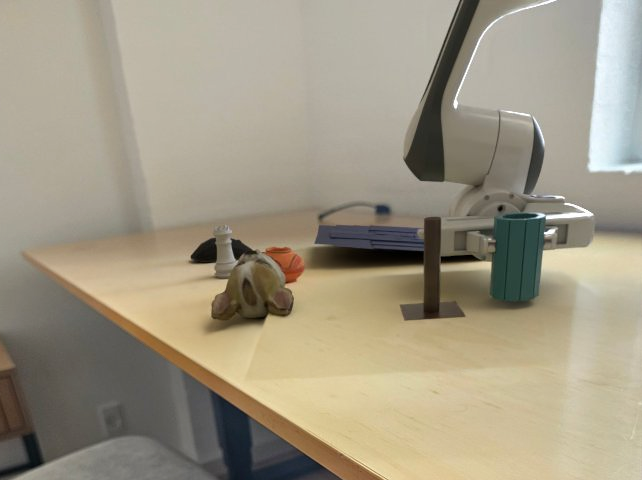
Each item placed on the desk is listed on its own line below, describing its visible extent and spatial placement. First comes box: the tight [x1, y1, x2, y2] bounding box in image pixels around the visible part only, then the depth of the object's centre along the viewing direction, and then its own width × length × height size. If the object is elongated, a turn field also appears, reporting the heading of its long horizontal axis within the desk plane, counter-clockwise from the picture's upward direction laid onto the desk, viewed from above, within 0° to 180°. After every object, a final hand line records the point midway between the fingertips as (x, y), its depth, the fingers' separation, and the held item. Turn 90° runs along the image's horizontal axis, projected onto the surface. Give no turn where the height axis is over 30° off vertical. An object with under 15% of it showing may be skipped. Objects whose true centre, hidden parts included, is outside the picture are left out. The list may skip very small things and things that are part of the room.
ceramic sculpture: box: [210, 248, 295, 322], centre depth 86 cm, size 11×9×15 cm
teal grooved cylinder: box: [489, 212, 546, 302], centre depth 76 cm, size 5×6×9 cm
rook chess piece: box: [212, 224, 238, 279], centre depth 109 cm, size 4×4×8 cm
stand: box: [399, 216, 467, 322], centre depth 76 cm, size 7×7×12 cm
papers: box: [314, 224, 474, 256], centre depth 118 cm, size 24×30×4 cm
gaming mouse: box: [190, 237, 265, 263], centre depth 125 cm, size 6×15×4 cm, turn 97°
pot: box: [263, 246, 306, 284], centre depth 99 cm, size 8×8×7 cm
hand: (520, 244), depth 74 cm, fingers closed on teal grooved cylinder, 5 cm apart
